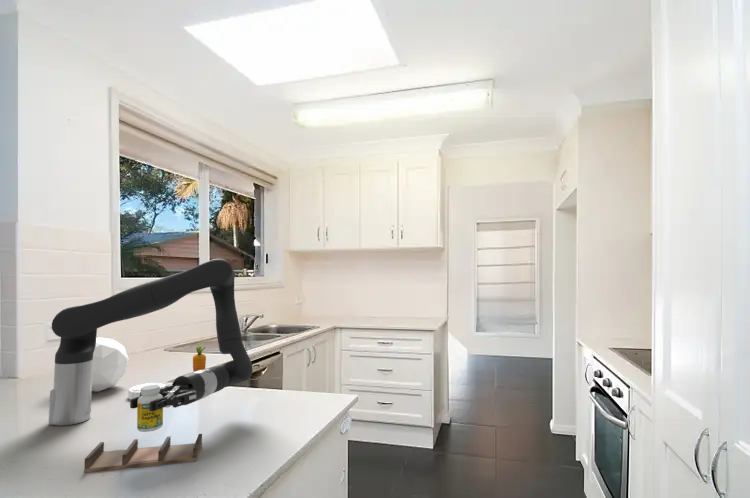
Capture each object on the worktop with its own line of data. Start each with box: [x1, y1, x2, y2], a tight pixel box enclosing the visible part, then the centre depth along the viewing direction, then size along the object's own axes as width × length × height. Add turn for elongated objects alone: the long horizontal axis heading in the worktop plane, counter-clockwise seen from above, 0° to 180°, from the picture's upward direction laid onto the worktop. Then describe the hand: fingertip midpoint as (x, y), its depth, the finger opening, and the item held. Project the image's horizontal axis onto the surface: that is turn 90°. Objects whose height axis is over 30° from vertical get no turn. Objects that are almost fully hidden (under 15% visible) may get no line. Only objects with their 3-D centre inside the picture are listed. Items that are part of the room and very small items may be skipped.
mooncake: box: [127, 382, 167, 400], centre depth 149 cm, size 12×12×4 cm
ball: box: [92, 337, 130, 392], centre depth 157 cm, size 19×20×20 cm
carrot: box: [192, 345, 207, 372], centre depth 166 cm, size 5×5×15 cm
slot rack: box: [83, 433, 203, 474], centre depth 99 cm, size 23×9×3 cm, turn 105°
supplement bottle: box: [136, 385, 164, 433], centre depth 100 cm, size 5×5×10 cm
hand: (141, 405), depth 98 cm, fingers closed on supplement bottle, 5 cm apart
